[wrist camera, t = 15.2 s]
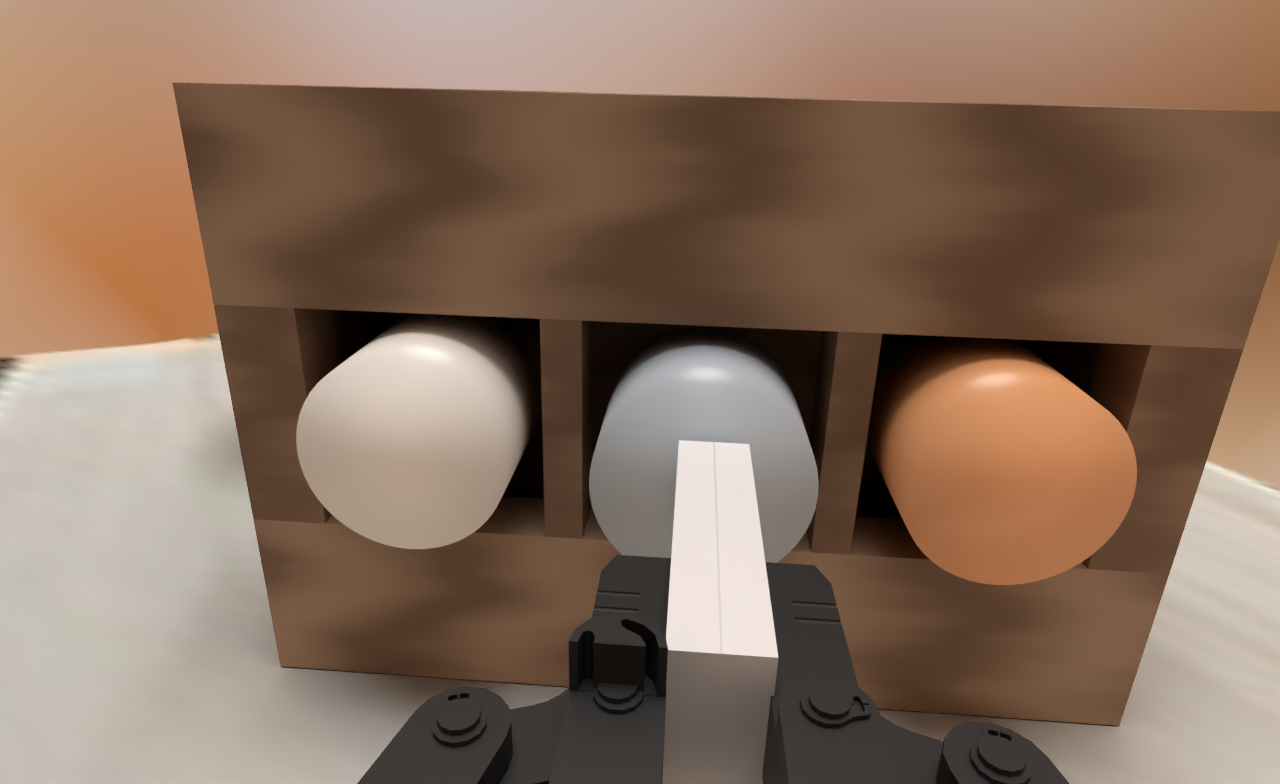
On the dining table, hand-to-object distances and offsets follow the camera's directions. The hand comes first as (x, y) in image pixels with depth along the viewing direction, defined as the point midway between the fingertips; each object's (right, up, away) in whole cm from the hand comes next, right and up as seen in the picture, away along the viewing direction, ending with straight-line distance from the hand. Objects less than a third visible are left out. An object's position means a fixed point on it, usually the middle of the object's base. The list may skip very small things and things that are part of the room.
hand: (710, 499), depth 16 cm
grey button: (0, -1, +5) cm, 5 cm away
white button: (-7, 0, +6) cm, 9 cm away
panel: (0, -5, +10) cm, 11 cm away
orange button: (+7, -1, +5) cm, 9 cm away
